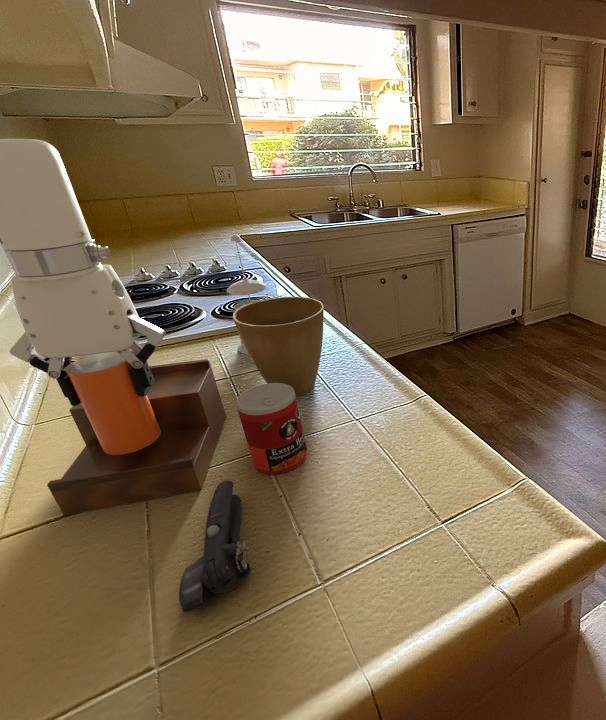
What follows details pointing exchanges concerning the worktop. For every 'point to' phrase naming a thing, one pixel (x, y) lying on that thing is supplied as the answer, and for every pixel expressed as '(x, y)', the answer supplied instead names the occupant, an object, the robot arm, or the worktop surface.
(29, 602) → the worktop surface
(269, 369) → the plant pot
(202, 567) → the can opener
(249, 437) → the canned food
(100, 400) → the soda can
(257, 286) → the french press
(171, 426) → the step shelf
